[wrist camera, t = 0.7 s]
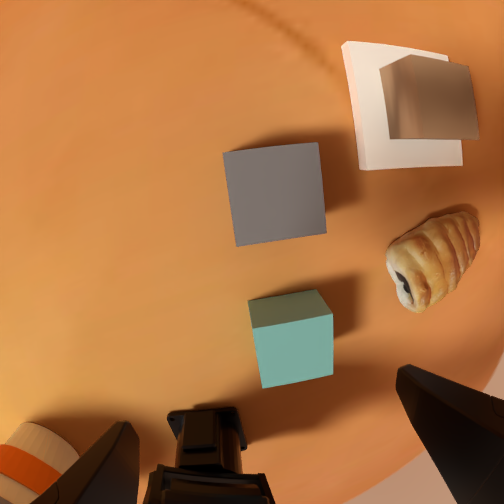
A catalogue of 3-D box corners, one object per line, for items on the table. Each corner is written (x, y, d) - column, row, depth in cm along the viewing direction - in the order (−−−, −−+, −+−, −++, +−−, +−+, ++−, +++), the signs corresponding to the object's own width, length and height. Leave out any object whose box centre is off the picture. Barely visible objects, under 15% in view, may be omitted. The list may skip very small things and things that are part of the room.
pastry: (456, 188, 21) (487, 196, 17) (474, 252, 23) (501, 266, 19) (374, 248, 22) (399, 265, 18) (400, 311, 24) (423, 334, 20)
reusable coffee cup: (38, 466, 27) (11, 541, 13) (-8, 405, 24) (-56, 485, 9) (109, 479, 28) (90, 571, 14) (63, 417, 24) (18, 527, 10)
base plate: (453, 164, 20) (462, 165, 19) (359, 169, 20) (366, 170, 19) (438, 58, 17) (447, 55, 16) (340, 46, 17) (347, 40, 16)
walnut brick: (443, 139, 18) (479, 140, 14) (389, 139, 18) (424, 137, 14) (434, 75, 17) (468, 66, 13) (379, 68, 17) (410, 54, 13)
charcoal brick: (307, 219, 21) (326, 233, 17) (233, 230, 20) (236, 246, 17) (299, 144, 19) (318, 142, 15) (222, 154, 19) (222, 152, 15)
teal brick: (318, 343, 24) (333, 374, 20) (256, 355, 23) (262, 388, 20) (315, 288, 22) (332, 313, 18) (247, 299, 22) (252, 328, 18)
